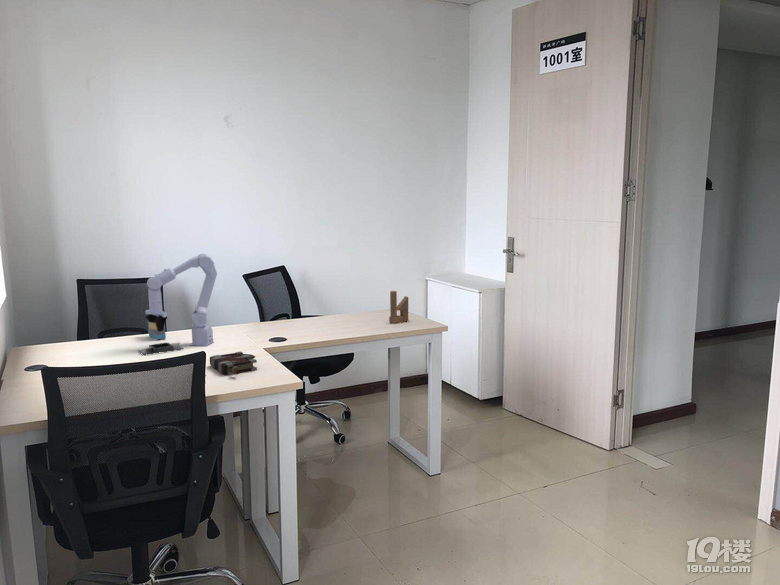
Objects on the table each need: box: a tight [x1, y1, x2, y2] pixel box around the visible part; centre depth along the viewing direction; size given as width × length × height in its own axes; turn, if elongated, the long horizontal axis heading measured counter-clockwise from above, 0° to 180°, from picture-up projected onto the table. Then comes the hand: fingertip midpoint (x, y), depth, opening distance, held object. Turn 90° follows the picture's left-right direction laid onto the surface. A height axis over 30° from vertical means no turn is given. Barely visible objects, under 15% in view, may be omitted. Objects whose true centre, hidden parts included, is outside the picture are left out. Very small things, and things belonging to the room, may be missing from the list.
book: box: [209, 351, 258, 376], centre depth 269 cm, size 15×25×5 cm, turn 34°
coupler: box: [149, 321, 166, 336], centre depth 306 cm, size 5×5×6 cm
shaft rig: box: [137, 342, 184, 356], centre depth 304 cm, size 18×10×2 cm, turn 125°
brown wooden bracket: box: [388, 290, 409, 324], centre depth 360 cm, size 4×11×18 cm, turn 122°
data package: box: [147, 316, 167, 341], centre depth 328 cm, size 12×4×12 cm, turn 40°
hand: (157, 330), depth 306 cm, fingers closed on coupler, 5 cm apart
